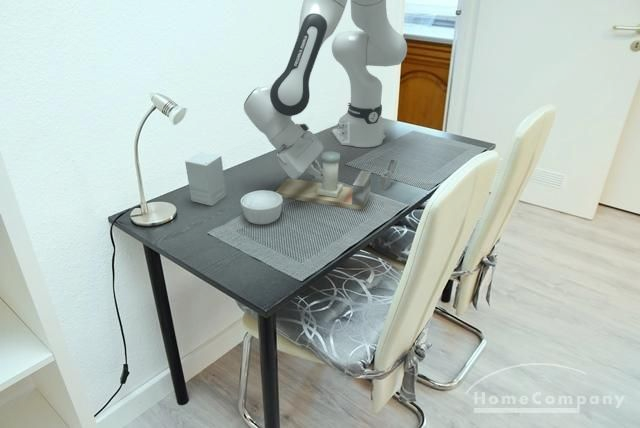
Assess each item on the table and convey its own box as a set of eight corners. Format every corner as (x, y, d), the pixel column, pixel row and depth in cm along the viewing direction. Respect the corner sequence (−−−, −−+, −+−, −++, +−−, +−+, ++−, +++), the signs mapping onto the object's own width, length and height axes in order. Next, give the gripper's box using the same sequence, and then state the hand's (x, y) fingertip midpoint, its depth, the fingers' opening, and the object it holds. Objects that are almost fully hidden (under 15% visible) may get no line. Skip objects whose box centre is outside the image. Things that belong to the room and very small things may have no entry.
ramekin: (237, 210, 125) (236, 193, 122) (276, 203, 129) (275, 187, 126) (247, 230, 116) (245, 212, 113) (288, 222, 120) (288, 205, 117)
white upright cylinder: (316, 194, 130) (317, 157, 124) (323, 185, 135) (323, 149, 129) (336, 197, 128) (338, 160, 122) (342, 188, 133) (343, 152, 127)
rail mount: (275, 196, 132) (274, 173, 128) (288, 182, 140) (287, 159, 137) (362, 210, 125) (363, 186, 121) (370, 194, 133) (371, 171, 130)
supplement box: (226, 195, 132) (222, 155, 126) (211, 206, 127) (206, 165, 120) (206, 190, 135) (201, 151, 129) (190, 201, 129) (184, 160, 123)
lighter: (384, 190, 136) (386, 166, 132) (379, 189, 137) (381, 164, 133) (395, 182, 141) (397, 158, 137) (390, 180, 142) (392, 157, 138)
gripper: (281, 146, 117) (316, 185, 120) (307, 121, 134) (338, 156, 136) (266, 159, 121) (301, 197, 123) (294, 134, 138) (324, 168, 140)
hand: (321, 175), depth 130 cm, fingers closed, pressing on white upright cylinder
